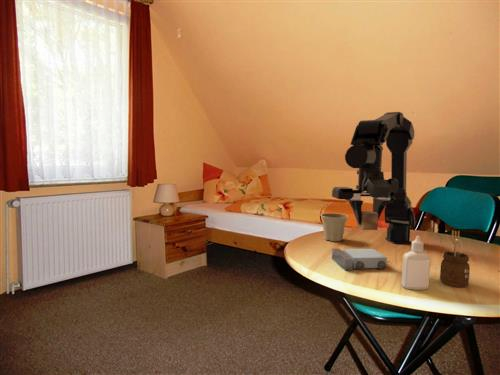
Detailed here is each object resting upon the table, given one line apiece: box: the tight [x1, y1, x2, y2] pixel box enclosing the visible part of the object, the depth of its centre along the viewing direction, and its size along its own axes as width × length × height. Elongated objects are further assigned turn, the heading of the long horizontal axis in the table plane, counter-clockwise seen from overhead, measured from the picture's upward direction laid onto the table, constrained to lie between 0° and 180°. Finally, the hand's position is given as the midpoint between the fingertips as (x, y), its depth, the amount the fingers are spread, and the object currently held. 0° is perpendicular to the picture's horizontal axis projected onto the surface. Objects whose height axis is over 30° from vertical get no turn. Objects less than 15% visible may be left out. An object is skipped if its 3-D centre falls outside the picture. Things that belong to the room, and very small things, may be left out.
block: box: [356, 210, 379, 231], centre depth 96 cm, size 4×4×4 cm
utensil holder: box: [439, 230, 471, 288], centre depth 83 cm, size 6×6×12 cm
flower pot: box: [320, 212, 349, 242], centre depth 123 cm, size 9×9×9 cm
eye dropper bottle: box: [401, 235, 431, 291], centre depth 80 cm, size 4×6×12 cm
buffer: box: [331, 248, 353, 271], centre depth 96 cm, size 2×10×3 cm, turn 6°
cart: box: [342, 248, 388, 270], centre depth 96 cm, size 9×10×3 cm
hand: (367, 224), depth 96 cm, fingers closed on block, 4 cm apart
